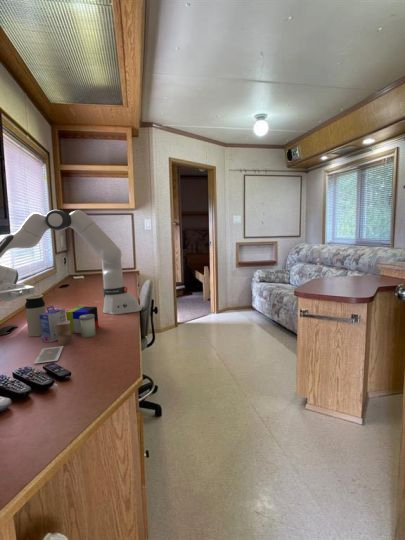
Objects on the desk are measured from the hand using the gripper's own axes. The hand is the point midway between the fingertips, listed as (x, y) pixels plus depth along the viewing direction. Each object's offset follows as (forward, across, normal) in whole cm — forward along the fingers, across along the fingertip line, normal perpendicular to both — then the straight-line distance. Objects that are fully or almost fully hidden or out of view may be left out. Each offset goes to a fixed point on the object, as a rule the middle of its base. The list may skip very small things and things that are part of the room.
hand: (20, 294), depth 150 cm
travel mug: (+12, 0, +18) cm, 22 cm away
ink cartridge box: (+26, +1, +18) cm, 31 cm away
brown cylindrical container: (+36, -1, +18) cm, 40 cm away
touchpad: (+43, -12, +18) cm, 48 cm away
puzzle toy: (+26, +15, +18) cm, 35 cm away
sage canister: (+36, +11, +18) cm, 41 cm away
